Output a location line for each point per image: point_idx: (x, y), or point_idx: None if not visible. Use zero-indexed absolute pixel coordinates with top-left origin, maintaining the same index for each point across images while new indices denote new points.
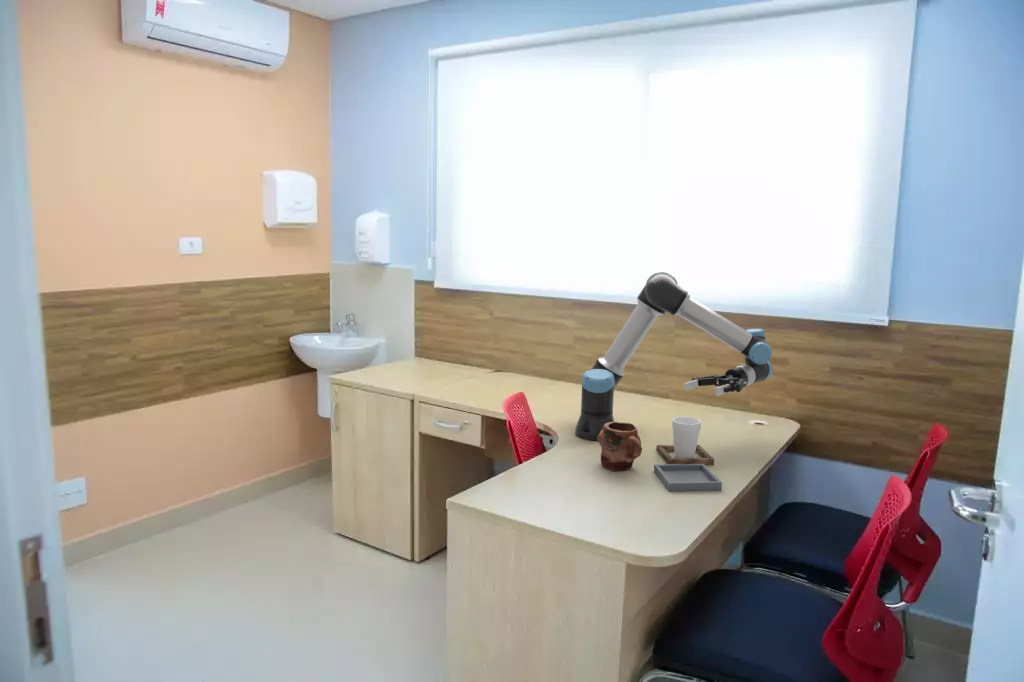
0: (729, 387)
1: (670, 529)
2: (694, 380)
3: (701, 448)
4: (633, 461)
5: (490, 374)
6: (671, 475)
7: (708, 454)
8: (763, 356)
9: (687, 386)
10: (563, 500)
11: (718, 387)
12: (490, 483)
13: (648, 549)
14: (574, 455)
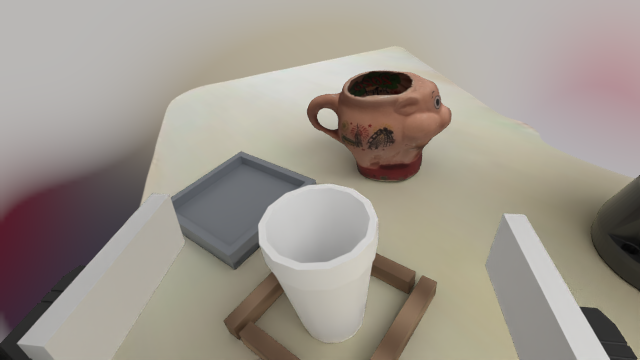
0: (38, 305)
1: (192, 116)
2: (583, 346)
3: None
4: (359, 167)
5: None
6: (269, 190)
7: (258, 346)
8: None
9: (501, 256)
10: (330, 86)
11: (144, 209)
12: (423, 63)
13: (196, 92)
14: (487, 146)
